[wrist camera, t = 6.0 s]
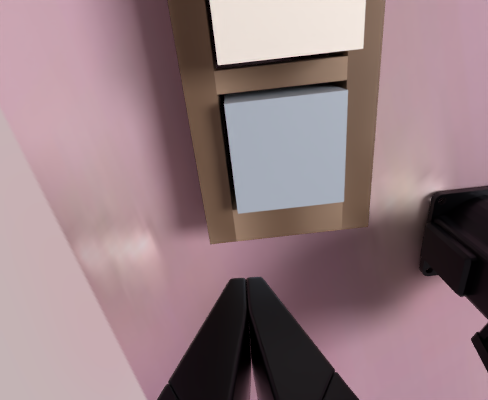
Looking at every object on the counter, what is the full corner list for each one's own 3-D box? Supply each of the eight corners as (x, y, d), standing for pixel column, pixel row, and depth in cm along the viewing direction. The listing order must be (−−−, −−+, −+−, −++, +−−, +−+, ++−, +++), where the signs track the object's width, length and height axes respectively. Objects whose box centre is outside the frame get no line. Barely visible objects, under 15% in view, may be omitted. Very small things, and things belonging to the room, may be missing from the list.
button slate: (325, 83, 17) (348, 89, 14) (324, 177, 19) (344, 201, 16) (225, 94, 17) (224, 103, 14) (236, 187, 19) (237, 213, 16)
